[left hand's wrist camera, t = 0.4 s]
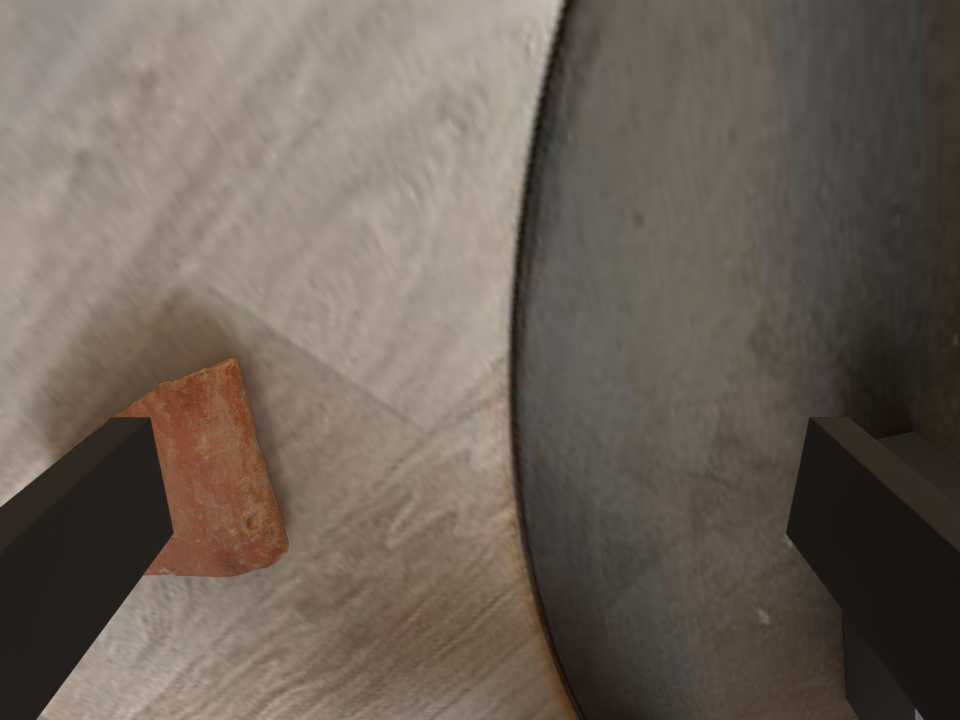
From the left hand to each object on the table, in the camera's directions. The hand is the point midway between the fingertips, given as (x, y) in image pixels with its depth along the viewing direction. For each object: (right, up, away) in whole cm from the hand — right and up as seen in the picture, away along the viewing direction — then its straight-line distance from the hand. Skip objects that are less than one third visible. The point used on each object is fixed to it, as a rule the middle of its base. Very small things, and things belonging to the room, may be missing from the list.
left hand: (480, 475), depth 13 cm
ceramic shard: (-21, -5, +31) cm, 38 cm away
